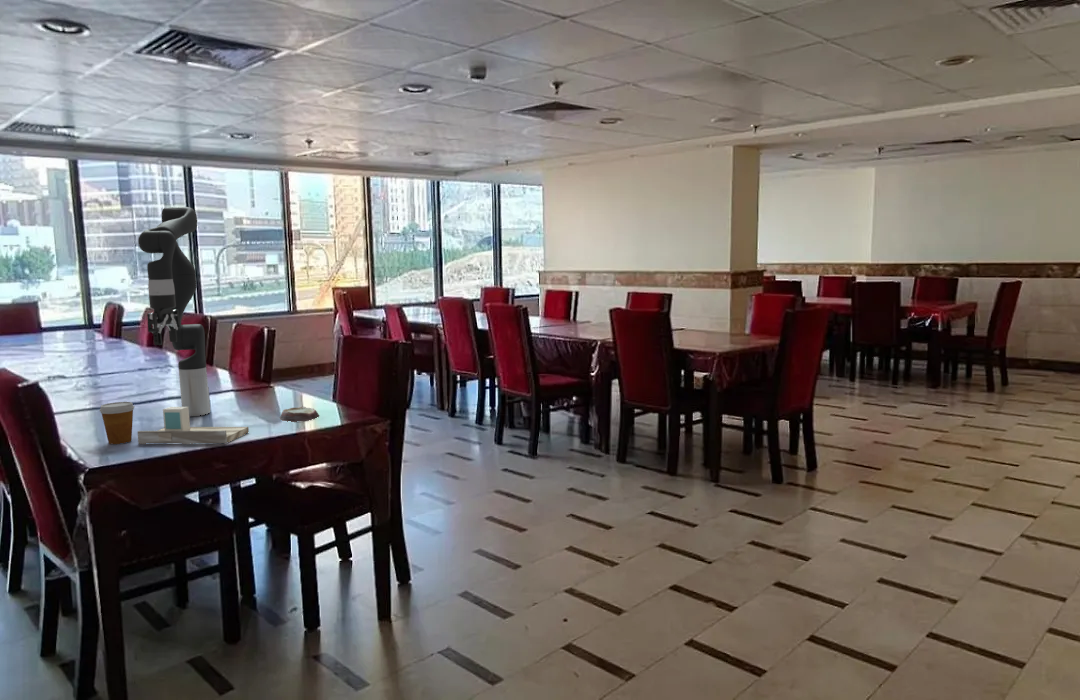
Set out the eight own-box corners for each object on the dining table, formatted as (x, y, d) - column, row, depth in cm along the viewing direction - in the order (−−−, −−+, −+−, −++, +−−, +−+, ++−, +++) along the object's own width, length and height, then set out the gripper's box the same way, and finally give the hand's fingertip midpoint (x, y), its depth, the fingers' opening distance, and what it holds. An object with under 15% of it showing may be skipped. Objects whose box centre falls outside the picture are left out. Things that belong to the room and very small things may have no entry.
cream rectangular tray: (166, 433, 244) (165, 421, 244) (248, 432, 242) (247, 420, 241) (137, 444, 229) (136, 431, 228) (224, 444, 226) (223, 431, 226)
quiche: (254, 424, 258) (253, 413, 257) (292, 413, 277) (291, 402, 276) (304, 428, 251) (303, 416, 250) (339, 416, 270) (339, 405, 269)
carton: (190, 431, 237) (188, 406, 236) (182, 434, 232) (180, 409, 231) (172, 431, 237) (170, 406, 236) (164, 434, 233) (162, 409, 232)
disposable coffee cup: (95, 445, 229) (92, 407, 227) (114, 438, 238) (111, 401, 237) (125, 445, 228) (122, 407, 227) (143, 438, 237) (140, 401, 236)
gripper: (159, 294, 233) (164, 346, 235) (185, 292, 247) (189, 340, 249) (137, 295, 233) (141, 346, 236) (163, 292, 248) (167, 340, 250)
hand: (166, 343), depth 242 cm, fingers open, 8 cm apart
